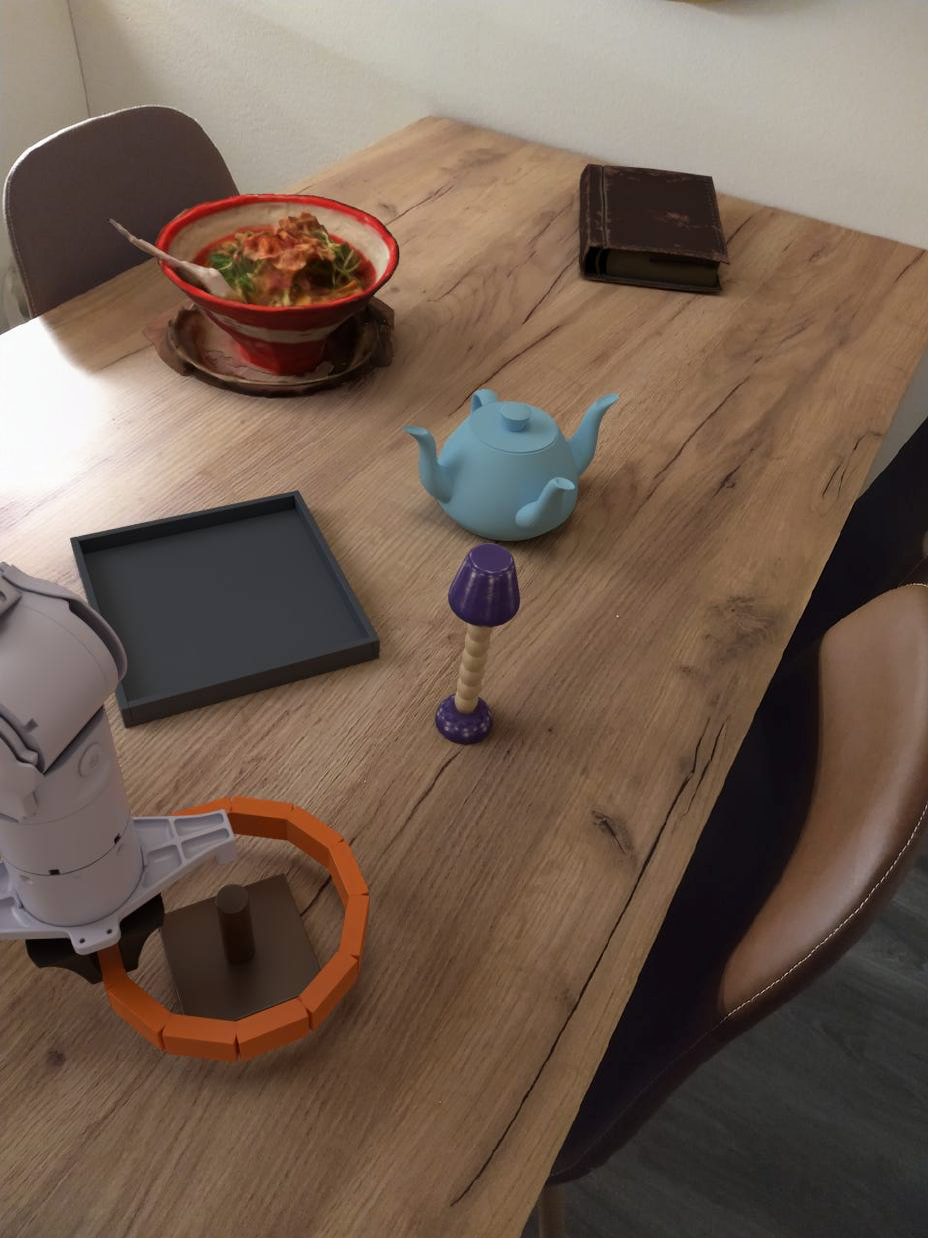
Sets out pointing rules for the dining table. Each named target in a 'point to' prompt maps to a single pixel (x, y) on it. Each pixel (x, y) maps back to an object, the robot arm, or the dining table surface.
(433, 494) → the teapot
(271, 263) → the stew
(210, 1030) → the ring
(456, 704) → the toy lamp
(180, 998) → the stand
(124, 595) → the tray
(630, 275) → the diary
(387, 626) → the dining table surface
